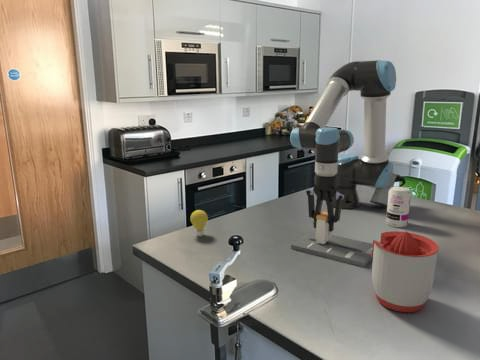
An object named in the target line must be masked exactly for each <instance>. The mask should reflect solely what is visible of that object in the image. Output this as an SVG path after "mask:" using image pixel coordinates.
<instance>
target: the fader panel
mask: <svg viewBox="0 0 480 360" xmlns="http://www.w3.org/2000/svg"><path fill="white" fill-rule="evenodd" d="M372 247H373V243H371V242H366V241H361V240H357V239H351V238H347V237H344V236H339V235H333V234H331V239H330V240H329V241H327V242H326V243H325V244H321V243H317V242H316V230H311V229H310V230H309V231H307V232H306V233H305V234H303V235H302V236H301V237H299V238H298V239H296V240H295V241H294V242H292V243H291V244H290V249H291V250H295V251H298V252H303V253H307V254H310V255H314V256H317V257H318V256H319V257H322V258H327V259H329V260H334V261H337V262H338V261H339V262H341V263H346V264H350V265H354V266H357V267H361V268H366V266H367V265H368V264H369V262H370V261H371V260H373V258H372V254H368V253H366V252H367V251H368V250H370V249H371V248H372Z"/></svg>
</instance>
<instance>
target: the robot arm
mask: <svg viewBox="0 0 480 360" xmlns="http://www.w3.org/2000/svg"><path fill="white" fill-rule="evenodd" d="M396 84H397V72H396V68H395V65H394V63H393V62H392V61H390V60H381V59H379V60H364V61H363V60H362V61H360V60H358V61H356V60H355V61H354V60H353V61H351V62H348V63H346V64H344V65H342V66H340V67H339V68H338V69H337V70H335V71H334V72H333V73H332V75H330V77H329V78H328V80H327V82H326V85H325V86H326V88H325V90H324V91H323V93H322V95H321V96H320V97H319V99H318V101H317V103H316V104H315V106H314V108H313V109H312V110H311V111H310V112H311V113H310V114H309V116H308V117H307V118H306V120H305V122H304V123H303V125H302V127H300V126H299V127H294V128H293V129H292V130H291V131H290V136H289V140H290V143H291V144H290V145H291V146H292V147H293V148H297V149H302V150H305V149H306V150H315V159H314V173H315V174H314V178H313V179H314V183H313V184H314V185H313V187H312V188H310V189H307V190H306V191H305V192H306V196H307V202H308V203H307V205H308V217H309V218H310V219H311V218H312V219H313V228H314V229H315V231H316V234H317V219H316V216H317V215H319V214H320V213H322V212H321V211H322V206H323V202H324V201H325V204H326V210H327V211H326V212H327V213H328V222H327V223H326V241H328V240H329V239H331V235H332V232H333V231H334V229H335V227H334V226H335V223H337V222H339V221H340V219H341V211H342V209H346V210H347V209H354V208H357V207H359V206H360V198H359V195H358V190H357V185H358V186H363V187H364V186H365V187H371V188H375V189H376V187H377V188H385V187H386V186H387V185H388V183H389V181H390V179H391V176H392V173H394V172H393V170H394V164H393V162H391V161H389V158H390V157H389V156H388V155H387V154H386V130H387V129H386V128H387V127H386V125H387V124H386V123H387V120H386V119H387V99H388V97H390V96H391V92H393V91H394V90H395V89H396V86H397V85H396ZM352 91H360V97H361V98H362V99H363V101H364V102H363V103H364V104H363V107H364V109H363V110H364V111H363V112H364V113H363V116H364V117H363V118H364V119H363V127H364V129H363V131H364V132H363V154H362V155H361V156H360V157H359V155H358V154H350V153H349V154H342V155H341V154H340V155H339V153H342V152H346V151H348V150H349V149H350V148H351V147H352V146H353V145H354V141H355V138H354V135H353V133H352V132H351V131H349V130H347V129H338V128H337V127H329V126H328V127H327V125H328V123H329V122H330V120H331V118H332V117H333V115H334V113H335V111H336V109H337V108H338V106H339V104H340V102H341V100H342V99H343V97H345V96H347V95H348V93H350V92H352ZM315 196H316V200H315ZM315 201H316V204H315Z"/></svg>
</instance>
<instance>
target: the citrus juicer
mask: <svg viewBox="0 0 480 360" xmlns="http://www.w3.org/2000/svg"><path fill="white" fill-rule="evenodd" d="M372 244H373V247H372V248H371V249H370V250H368V251H367V252H366V253H368V254H372V264H371V265H372V267H371V279H372V286H373V290H374V294H375V297H376V299H377V301H378V302H379V304H381V305H382V306H384V307H385V308H387V309H390V310H393V311H396V312H399V313H407V312H408V313H409V314H410V312H411V313H414V312H418V311H420V310H422V308H424V306H425V305H426V303H427V302H428V299H429V297H430V294H431V290H432V288H433V286H434V280H435V275H436V266H437V256H438V252H439V250H440V248H439V247H440V246H439V245H438V243H437V242H436V241H434V240H432V239H431V238H429V237H427V236H425V235H422V234H421V235H420V234H418V233H413V232H409V231H394V230H393V231H384V232H381V233H380V241H377V240H375V239H372Z"/></svg>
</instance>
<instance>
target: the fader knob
mask: <svg viewBox="0 0 480 360" xmlns="http://www.w3.org/2000/svg"><path fill="white" fill-rule="evenodd" d="M316 219H317V234H316V242H317V243H321V244H325V243H326V242H327V241H326V223H327V222H328V211H322V212H320V214H319V215H317V216H316ZM329 240H330V239H329ZM329 240H328V241H329Z"/></svg>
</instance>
